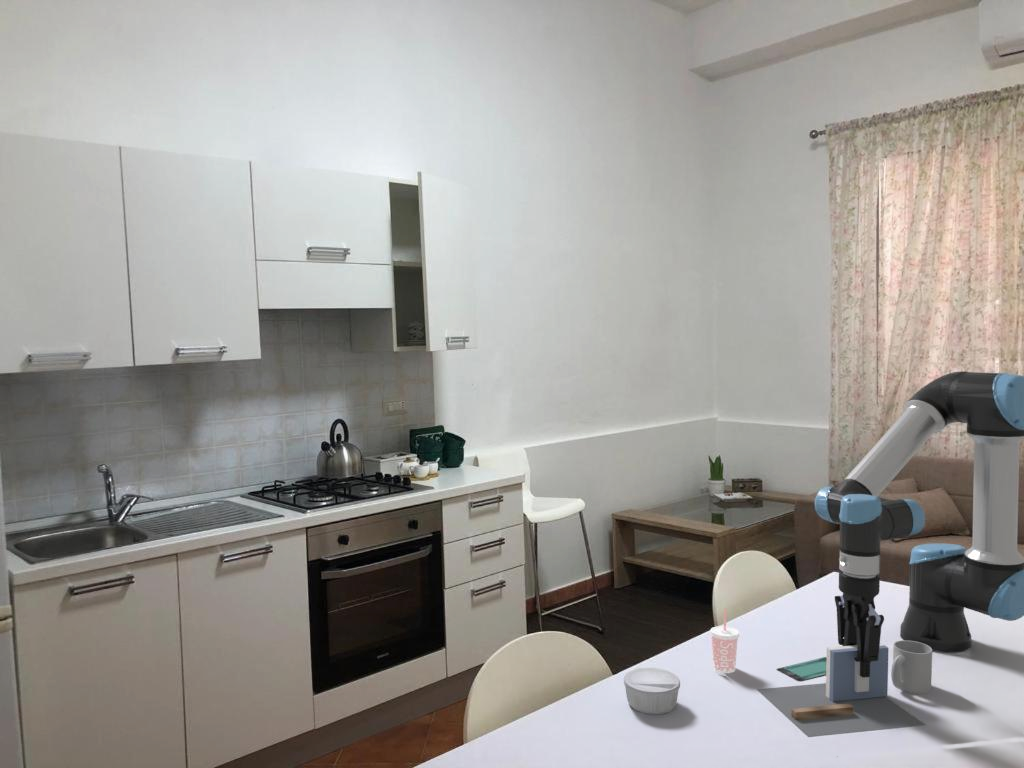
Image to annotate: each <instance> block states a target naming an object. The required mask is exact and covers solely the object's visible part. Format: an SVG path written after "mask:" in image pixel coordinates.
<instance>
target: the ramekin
mask: <svg viewBox="0 0 1024 768" xmlns="http://www.w3.org/2000/svg"><path fill="white" fill-rule="evenodd" d="M623 684H624V687H625V693H626V694H625V695H626V699H627V702H628V705H629V706H630V707H631V708H633V709H634V710H635V711H637V712H639V713H642V714H646V715H647V714H648V715H662V714H667V713H669V712H671V711H672V710H673V709H674V708H675V707H676V706H677V702H678V696H679V690H680V688H681V680H680V678H679V676H677V675H676V674H675V673H673V672H671V671H669V670H667V669H663V668H658V667H657V668H656V667H639V668H634V669H631V670H629V671H628V672H626V673H625V674H624V678H623Z"/></svg>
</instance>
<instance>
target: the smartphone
mask: <svg viewBox="0 0 1024 768" xmlns="http://www.w3.org/2000/svg"><path fill="white" fill-rule="evenodd" d="M826 663H827V656H823V657H820V658H816V659H811V660H808V661H803V662H799V663H796V664H790V665H788V666H787V665H786V666H783V667H778V668H776V671H778V672H779V673H781V674H783V675H785V676H787V677H789V678H791V679H793V680H794V681H797V682H804V681H809V680H814V679H816V678H821V677H824V676H826Z"/></svg>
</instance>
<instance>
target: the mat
mask: <svg viewBox="0 0 1024 768" xmlns="http://www.w3.org/2000/svg"><path fill="white" fill-rule="evenodd" d="M756 690H757V692H759V694H761V695H762V696H763V697H764V698H765V699H766V700H767V701H768V702H769V703H771V705H773V707H775V709H777V710H778V711H779V712H780V713H782V715H783V716H784V717H786V719H788V721H790V722H791V723H792V724H793V725H794V726H796V727H797V728H798V729H799V730H800V731H801V732H802V733H803V734H804V735H806V737H808V738H811V737H821V736H831V735H839V734H840V735H842V734H848V733H849V734H851V733H861V732H869V731H881V730H892V729H899V728H900V729H901V728H908V727H909V728H910V727H911V728H912V727H921V726H926V725H927V724H925V723H924V722H923V721H921V720H920V719H919V718H917V717H916V716H914V715H913V714H912V713H910V712H909V711H908V710H906V709H904V708H902V707H901V706H900V705H899V704H897V703H896V702H894V701H893V700H891V699H890V698H889V697H888V696H884V697H874V698H863V699H853V700H843V701H832V700H830V699H829V698H828V697H827V696H826V682H824V683H813V684H803V685H793V686H792V685H791V686H781V687H780V686H777V687H769V688H758V689H756ZM838 704H850V705H851V706H853V715H844V716H833V717H823V718H813V719H802V720H795V719H794V718H793V717H791V712H792V709H796V708H806V707H817V706H828V705H838Z"/></svg>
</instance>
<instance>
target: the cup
mask: <svg viewBox="0 0 1024 768" xmlns="http://www.w3.org/2000/svg"><path fill="white" fill-rule="evenodd" d="M892 653H893V654H892V665H891V671H890V672H891V673H890V674H891V675H890V676H891V681H892V686H894V687H895V688H896V689H898V690H900V691H903V692H906V693H910V694H919V695H921V694H922V695H923V694H929V693H930V692H931V690H932V672H933V670H932V669H933V650H932V648H931V647H930V646H928V645H926V644H923V643H920V642H916V641H908V640H903V639H902V640H896V641H894V642H893V651H892Z"/></svg>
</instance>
